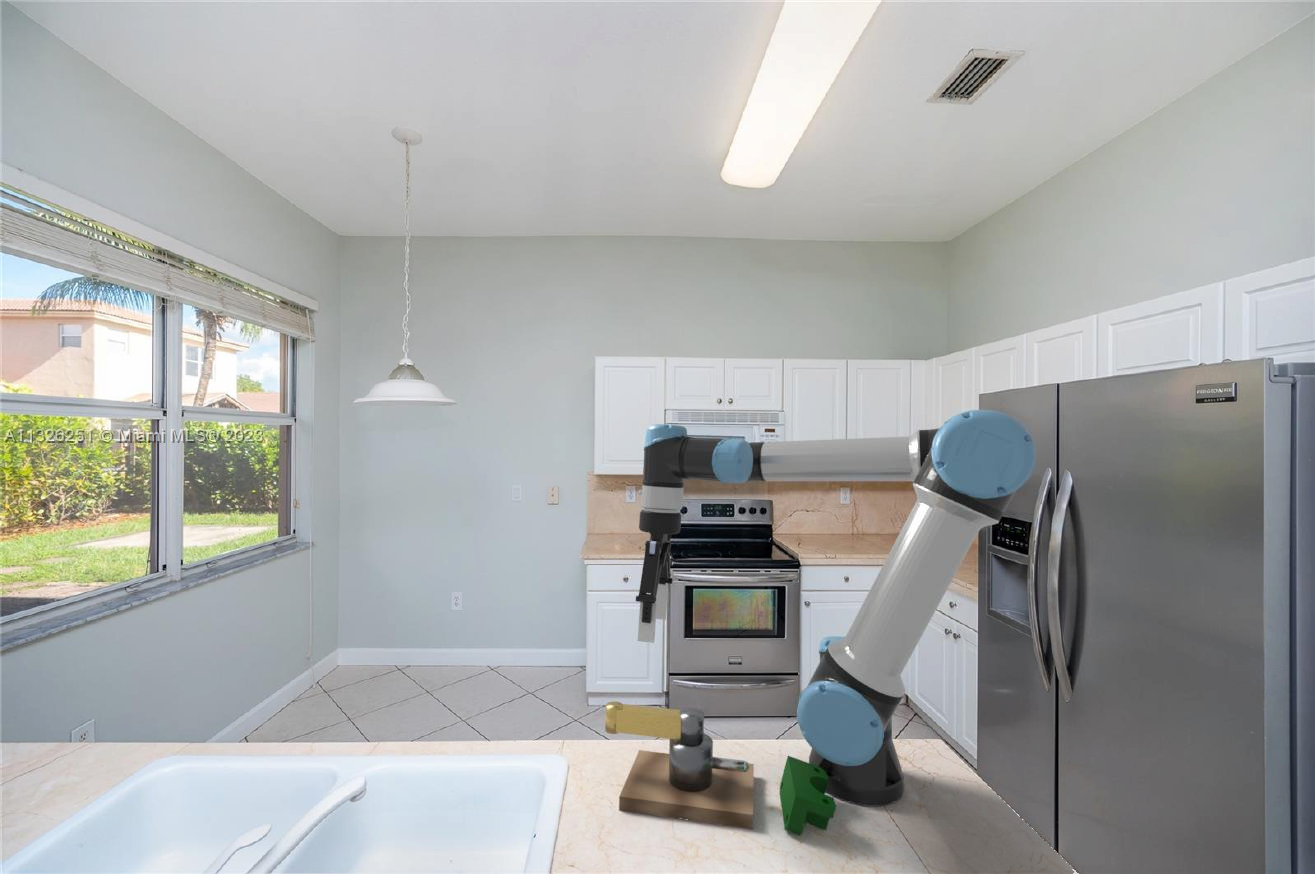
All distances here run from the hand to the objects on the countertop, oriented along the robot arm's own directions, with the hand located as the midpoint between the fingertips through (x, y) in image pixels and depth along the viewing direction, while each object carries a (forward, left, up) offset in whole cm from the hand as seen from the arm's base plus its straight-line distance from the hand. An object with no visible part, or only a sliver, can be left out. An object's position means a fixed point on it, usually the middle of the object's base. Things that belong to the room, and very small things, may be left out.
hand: (652, 629), depth 96 cm
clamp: (-26, +9, -24) cm, 36 cm away
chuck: (-11, +7, -21) cm, 25 cm away
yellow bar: (-2, +7, -15) cm, 16 cm away
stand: (-8, +7, -23) cm, 25 cm away
